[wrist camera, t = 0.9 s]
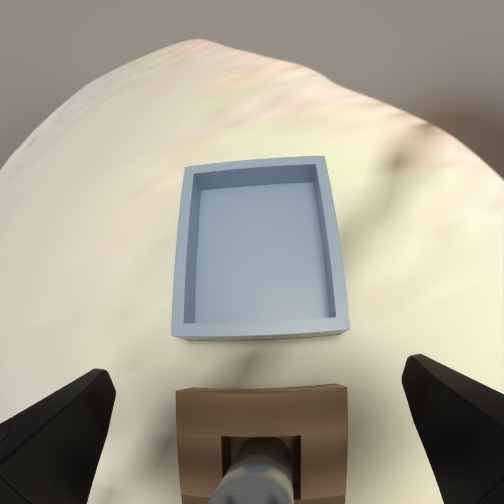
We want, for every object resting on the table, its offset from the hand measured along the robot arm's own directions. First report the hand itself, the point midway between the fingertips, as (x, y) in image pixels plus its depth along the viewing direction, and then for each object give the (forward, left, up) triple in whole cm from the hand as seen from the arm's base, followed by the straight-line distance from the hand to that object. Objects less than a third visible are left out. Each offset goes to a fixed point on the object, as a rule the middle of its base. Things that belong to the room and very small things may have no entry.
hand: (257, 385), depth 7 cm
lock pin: (-6, +1, -12) cm, 13 cm away
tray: (+9, +1, -12) cm, 15 cm away
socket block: (-6, +1, -12) cm, 14 cm away
